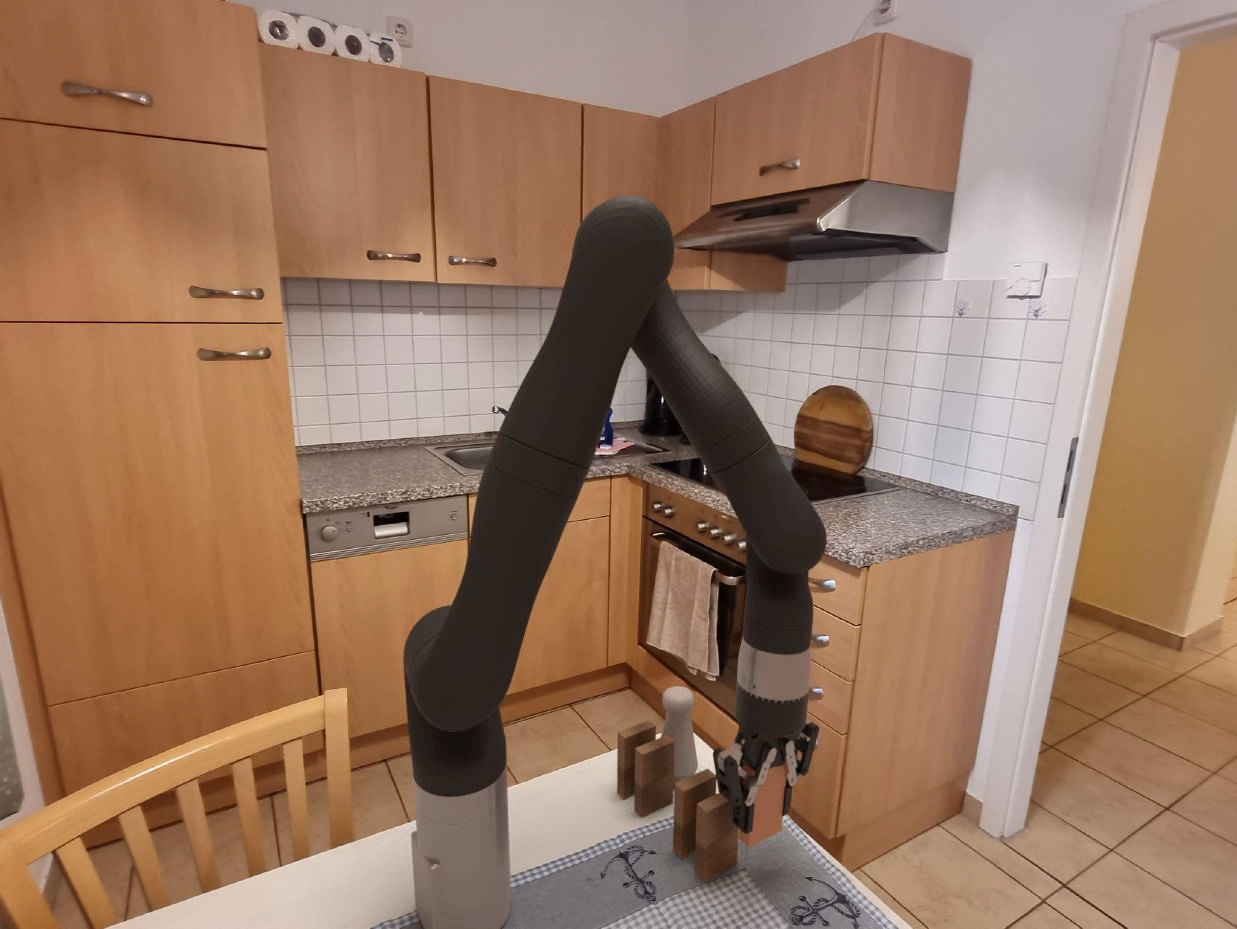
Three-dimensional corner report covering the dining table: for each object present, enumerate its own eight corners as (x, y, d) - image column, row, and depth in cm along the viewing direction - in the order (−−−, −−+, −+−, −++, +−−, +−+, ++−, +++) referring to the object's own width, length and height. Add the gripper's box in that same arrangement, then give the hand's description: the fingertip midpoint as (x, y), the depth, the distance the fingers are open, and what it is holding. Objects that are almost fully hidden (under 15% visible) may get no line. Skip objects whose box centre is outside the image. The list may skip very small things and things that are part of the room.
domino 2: (641, 818, 87) (642, 754, 85) (634, 810, 88) (635, 747, 86) (673, 803, 89) (674, 741, 88) (665, 796, 91) (667, 735, 89)
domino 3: (681, 859, 80) (683, 791, 78) (672, 850, 82) (674, 783, 80) (713, 841, 83) (716, 775, 81) (705, 833, 84) (707, 768, 82)
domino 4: (703, 882, 77) (706, 812, 75) (694, 872, 78) (696, 803, 76) (736, 863, 80) (740, 795, 78) (727, 854, 81) (730, 787, 79)
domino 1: (623, 799, 90) (624, 738, 88) (617, 792, 91) (617, 732, 89) (654, 786, 93) (655, 725, 91) (647, 779, 94) (648, 720, 92)
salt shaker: (647, 770, 96) (649, 685, 93) (683, 759, 98) (686, 676, 95) (668, 796, 91) (670, 707, 88) (705, 784, 93) (708, 697, 90)
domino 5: (748, 847, 75) (754, 773, 73) (738, 838, 76) (743, 765, 74) (781, 830, 78) (787, 759, 76) (771, 822, 79) (777, 751, 77)
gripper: (747, 714, 66) (735, 867, 70) (846, 677, 74) (832, 817, 77) (697, 680, 72) (689, 822, 76) (794, 649, 80) (782, 779, 83)
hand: (761, 818), depth 76 cm, fingers closed on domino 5, 5 cm apart
